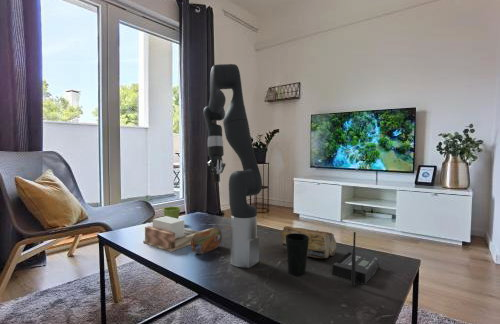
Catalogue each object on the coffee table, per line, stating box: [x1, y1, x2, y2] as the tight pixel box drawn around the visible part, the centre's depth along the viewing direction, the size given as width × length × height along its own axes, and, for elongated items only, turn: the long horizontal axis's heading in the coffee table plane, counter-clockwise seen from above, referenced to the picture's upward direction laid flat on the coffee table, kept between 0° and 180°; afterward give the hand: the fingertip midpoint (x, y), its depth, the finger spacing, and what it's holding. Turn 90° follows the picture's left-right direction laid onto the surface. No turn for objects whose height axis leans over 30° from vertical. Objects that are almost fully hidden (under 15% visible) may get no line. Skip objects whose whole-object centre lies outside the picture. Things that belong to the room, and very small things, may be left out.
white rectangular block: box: [152, 215, 185, 239], centre depth 120 cm, size 12×7×7 cm, turn 56°
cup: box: [285, 233, 309, 277], centre depth 93 cm, size 8×8×12 cm
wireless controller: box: [331, 231, 380, 288], centre depth 93 cm, size 20×14×17 cm
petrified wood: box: [280, 225, 337, 259], centre depth 112 cm, size 19×13×10 cm
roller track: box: [142, 225, 204, 253], centre depth 124 cm, size 18×21×7 cm
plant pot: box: [162, 206, 182, 219], centre depth 149 cm, size 9×9×9 cm
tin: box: [190, 227, 223, 255], centre depth 112 cm, size 15×3×8 cm, turn 143°
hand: (217, 182), depth 133 cm, fingers closed
